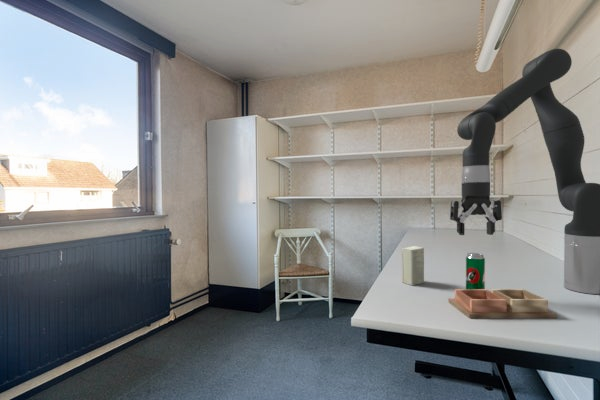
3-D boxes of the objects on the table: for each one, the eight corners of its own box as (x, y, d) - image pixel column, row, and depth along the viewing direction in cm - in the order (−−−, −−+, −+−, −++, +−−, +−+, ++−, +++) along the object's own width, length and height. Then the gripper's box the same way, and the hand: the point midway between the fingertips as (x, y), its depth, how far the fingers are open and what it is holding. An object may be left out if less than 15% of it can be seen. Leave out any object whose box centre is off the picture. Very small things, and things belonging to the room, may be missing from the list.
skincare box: (414, 279, 108) (414, 245, 107) (424, 283, 104) (424, 247, 104) (401, 282, 105) (401, 247, 104) (411, 286, 101) (411, 249, 101)
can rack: (524, 301, 85) (524, 287, 85) (556, 318, 74) (556, 301, 74) (448, 302, 86) (448, 287, 86) (469, 318, 75) (469, 302, 75)
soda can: (487, 296, 90) (487, 256, 90) (469, 295, 91) (469, 255, 91) (481, 291, 95) (481, 252, 95) (463, 290, 96) (463, 252, 96)
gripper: (491, 181, 96) (491, 232, 96) (446, 182, 96) (446, 233, 96) (507, 180, 88) (507, 236, 88) (458, 181, 88) (458, 236, 89)
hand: (475, 234), depth 92 cm, fingers open, 8 cm apart
